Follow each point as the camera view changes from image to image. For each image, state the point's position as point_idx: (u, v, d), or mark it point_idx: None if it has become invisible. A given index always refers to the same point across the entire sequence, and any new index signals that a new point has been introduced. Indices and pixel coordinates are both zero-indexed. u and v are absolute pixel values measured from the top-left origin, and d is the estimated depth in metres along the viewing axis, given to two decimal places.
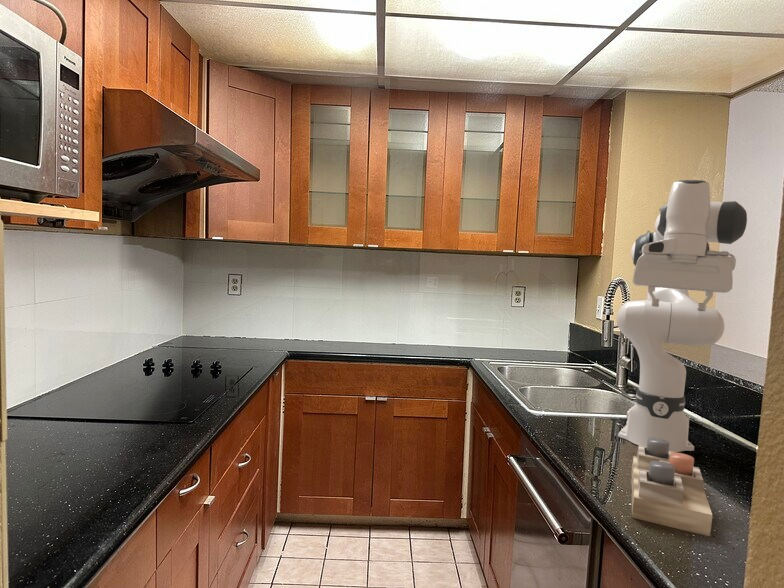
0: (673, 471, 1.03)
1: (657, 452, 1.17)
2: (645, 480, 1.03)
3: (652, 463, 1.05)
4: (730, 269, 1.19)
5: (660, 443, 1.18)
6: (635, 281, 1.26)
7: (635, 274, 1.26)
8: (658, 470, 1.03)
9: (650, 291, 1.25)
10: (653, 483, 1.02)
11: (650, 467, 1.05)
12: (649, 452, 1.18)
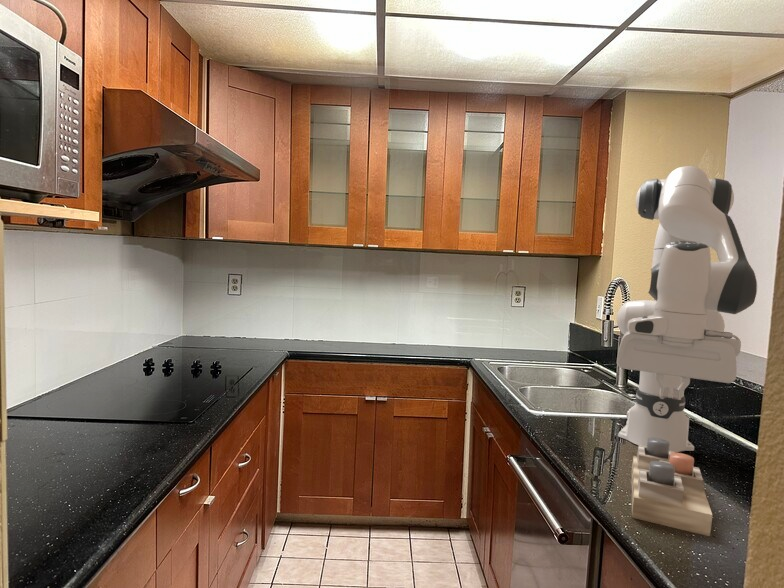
0: (673, 471, 1.03)
1: (657, 452, 1.17)
2: (645, 480, 1.03)
3: (652, 463, 1.05)
4: (734, 356, 0.97)
5: (660, 443, 1.18)
6: (619, 364, 1.05)
7: (619, 356, 1.05)
8: (658, 470, 1.03)
9: (658, 379, 1.03)
10: (653, 483, 1.02)
11: (650, 467, 1.05)
12: (649, 452, 1.18)
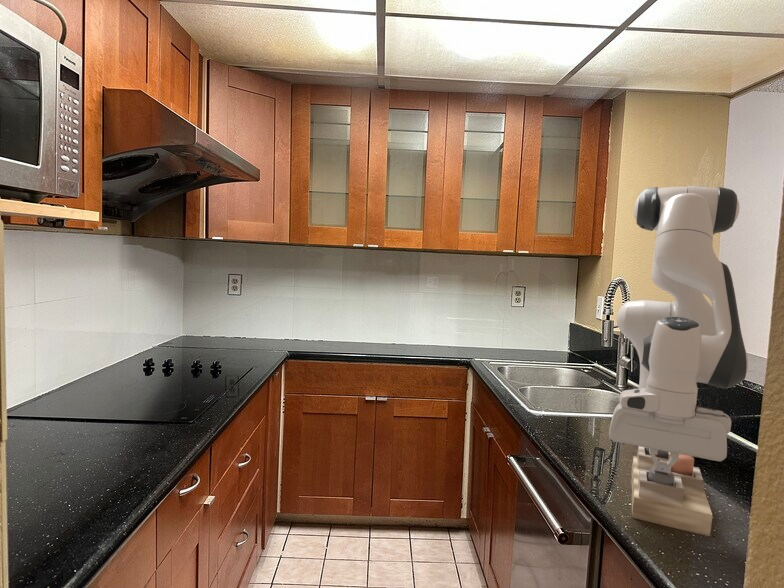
0: (672, 478, 1.03)
1: None
2: (645, 480, 1.03)
3: (651, 470, 1.05)
4: (724, 435, 0.98)
5: None
6: (611, 437, 1.06)
7: (611, 430, 1.06)
8: (657, 477, 1.03)
9: (652, 454, 1.04)
10: (653, 483, 1.02)
11: (649, 474, 1.05)
12: None
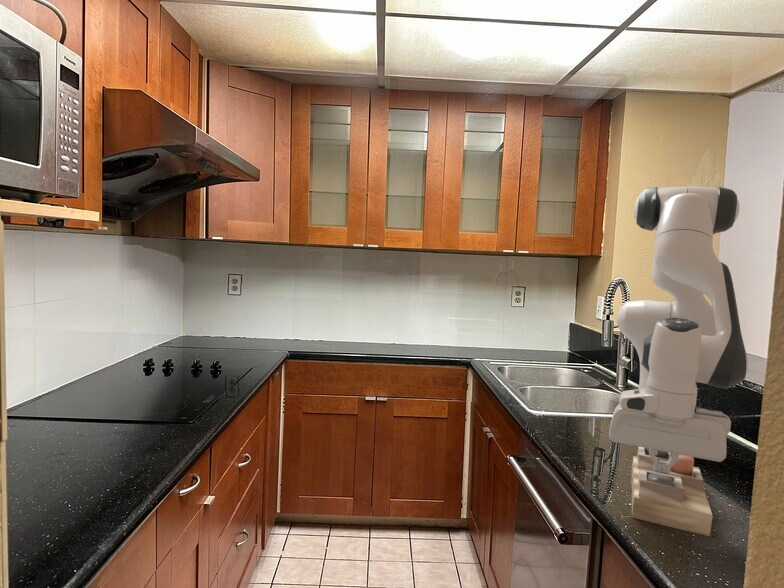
0: (671, 484, 1.03)
1: (657, 452, 1.17)
2: (645, 480, 1.03)
3: (651, 476, 1.05)
4: (724, 436, 0.99)
5: None
6: (611, 438, 1.07)
7: (611, 430, 1.06)
8: None
9: (651, 455, 1.04)
10: (653, 483, 1.02)
11: (649, 480, 1.05)
12: None
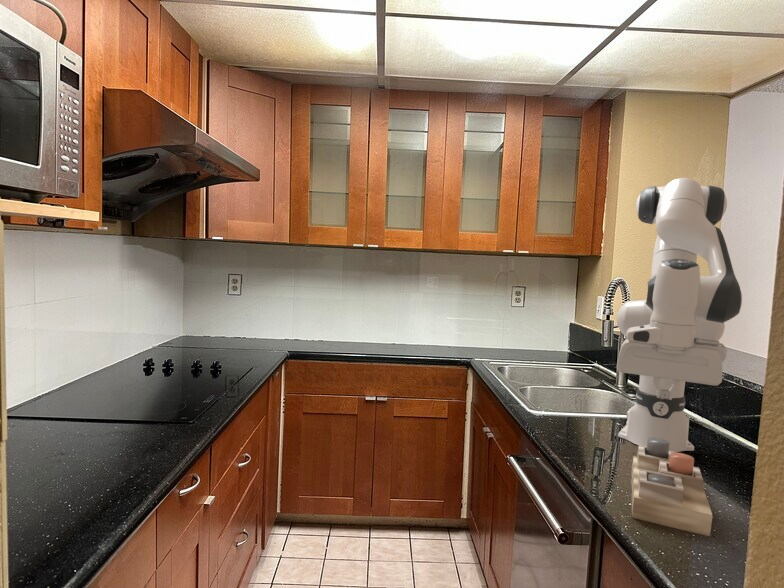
0: (671, 484, 1.03)
1: (657, 452, 1.17)
2: (645, 480, 1.03)
3: (651, 476, 1.05)
4: (720, 362, 1.10)
5: (660, 443, 1.18)
6: (619, 369, 1.18)
7: (619, 362, 1.18)
8: None
9: (655, 382, 1.16)
10: (653, 483, 1.02)
11: (649, 480, 1.05)
12: (649, 452, 1.18)
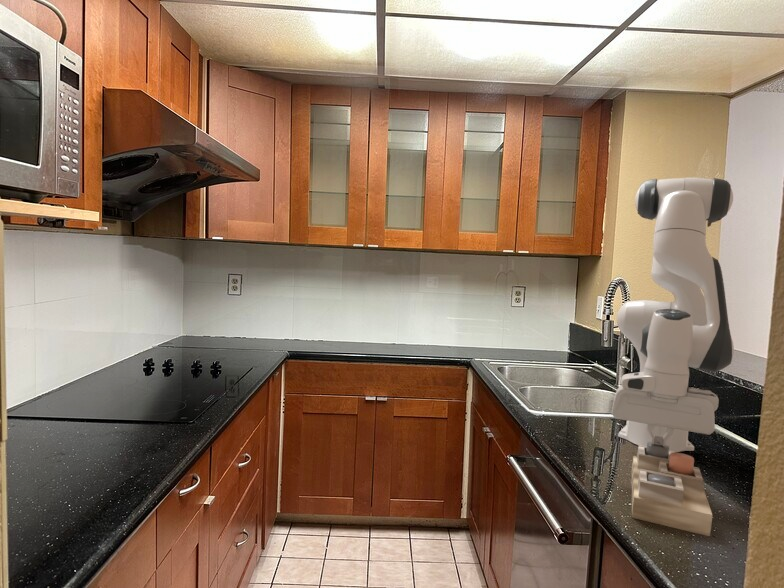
0: (671, 484, 1.03)
1: (657, 456, 1.17)
2: (645, 480, 1.03)
3: (651, 476, 1.05)
4: (712, 411, 1.13)
5: (660, 447, 1.18)
6: (614, 415, 1.21)
7: (614, 408, 1.20)
8: None
9: (649, 429, 1.18)
10: (653, 483, 1.02)
11: (649, 480, 1.05)
12: None
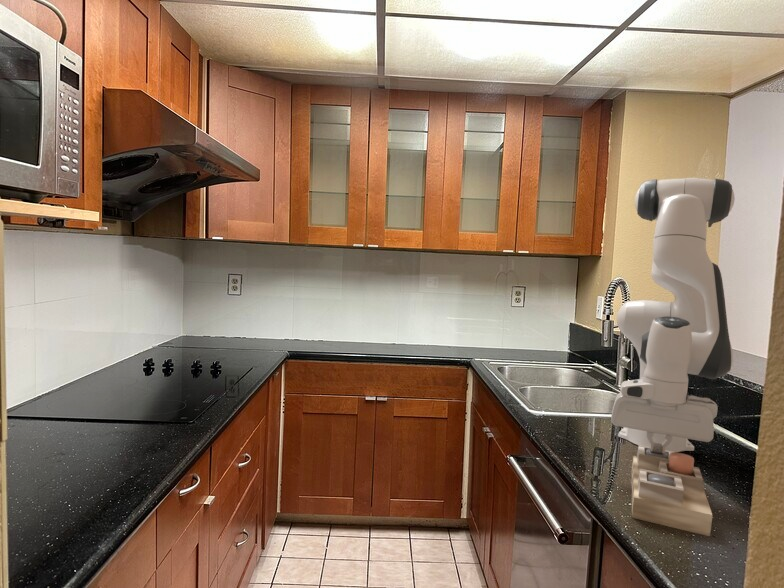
0: (671, 484, 1.03)
1: None
2: (645, 480, 1.03)
3: (651, 476, 1.05)
4: (711, 419, 1.13)
5: (659, 455, 1.18)
6: (613, 422, 1.21)
7: (613, 415, 1.21)
8: None
9: (648, 436, 1.19)
10: (653, 483, 1.02)
11: (649, 480, 1.05)
12: None
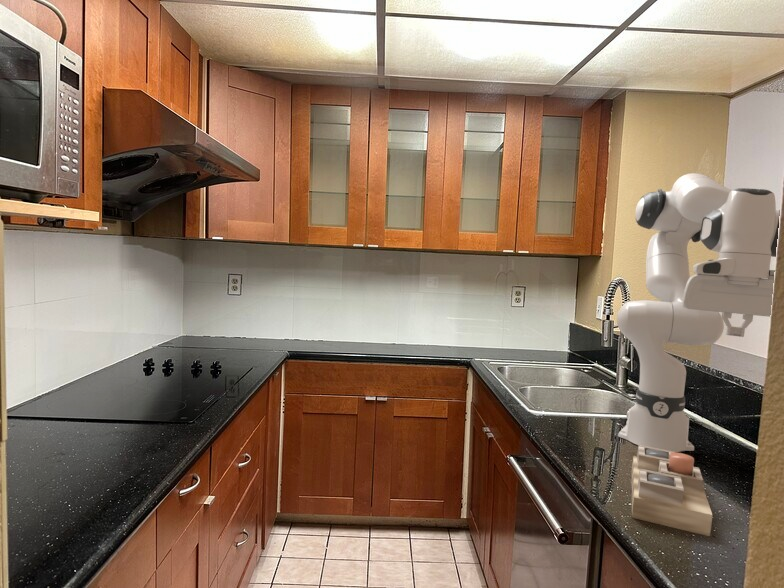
0: (671, 484, 1.03)
1: None
2: (645, 480, 1.03)
3: (651, 476, 1.05)
4: None
5: (659, 455, 1.18)
6: (686, 305, 1.12)
7: (686, 297, 1.12)
8: None
9: (726, 318, 1.10)
10: (653, 483, 1.02)
11: (649, 480, 1.05)
12: None
